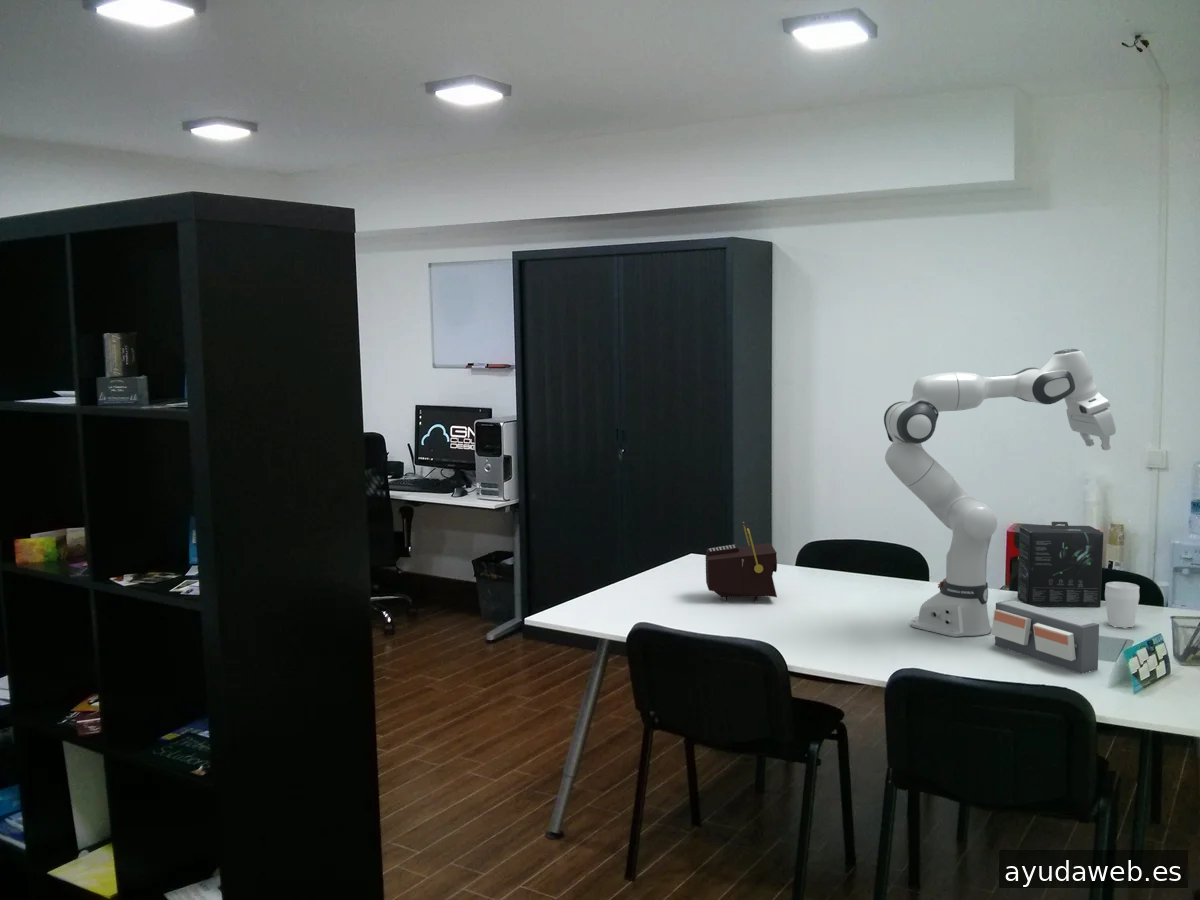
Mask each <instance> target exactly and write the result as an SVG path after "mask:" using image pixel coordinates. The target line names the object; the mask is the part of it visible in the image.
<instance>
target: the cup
mask: <svg viewBox="0 0 1200 900" xmlns="http://www.w3.org/2000/svg"><path fill="white" fill-rule="evenodd" d="M1104 588H1105V590H1104V600H1105V609H1106V617H1107V622H1108V625H1109V626H1110V625H1112V626H1116V627H1126V628H1125V629H1128V628H1127V627H1132V628H1134V627H1133V626H1135V622H1136V616H1137V612H1138V606H1139V602H1140V585H1138V584H1136V583H1131V582H1127V581H1126V582H1125V581H1109V582H1106V583H1105V586H1104ZM1112 626H1111V627H1112ZM1116 627H1115V628H1116Z"/></svg>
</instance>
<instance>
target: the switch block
mask: <svg viewBox="0 0 1200 900" xmlns="http://www.w3.org/2000/svg"><path fill="white" fill-rule="evenodd" d="M995 610H1002V611H1005V612H1009V613H1012V614H1015V615H1019V616H1022V617H1026V618H1029V619H1031V626H1030V631H1032V634H1030V633H1029V639H1028V645H1022V644H1019V643H1016V642H1013V641H1010V640H1006V639H1003V638H1000V637H997V636H994V645H995V646H996V647H1000V648H1002V649H1005V650H1008V649H1009V651H1011V650H1012V652H1014V651H1015V652H1014V653H1017V654H1020V653H1021V655H1023V656H1027V657H1030V658H1033V659H1036V660H1039V661H1043V662H1044V663H1045V662H1046V663H1047V664H1051V665H1054V666H1057V667H1059V668H1060V667H1061V668H1063V669H1066V670H1069V671H1072V672H1075V673H1078V674H1081V675H1083V674H1086V672H1087V673H1090V672H1089V671H1091V672H1093V671H1094V670H1095V671H1098V670H1099V639H1100V623H1095V622H1094V621H1090V620H1085V619H1083V618H1078V617H1075V616H1072V615H1067V614H1065V613H1064V614H1063V613H1061V612H1057V611H1053V610H1049V609H1046V608H1042V607H1040V606H1032V605H1028V604H1025V603H1023V602H1022V601H1016V600H1013V599H1010V600H1004V601H1000V602H995ZM1036 623H1039V624H1043V625H1046V626H1050V627H1053V628H1056V629H1060V630H1063V631H1067V632H1070V633H1073V636H1074V644H1076V645H1077V648H1075V656H1076V659H1075V660H1073V661H1070V660H1066V659H1063V658H1060V657H1057V656H1054V655H1051V654H1048V653H1045V652H1042V651H1039V650H1036V646H1035V637H1034V628H1033V625H1034V624H1036ZM1095 671H1094V672H1095ZM1082 673H1083V674H1082Z"/></svg>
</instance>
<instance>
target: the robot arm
mask: <svg viewBox="0 0 1200 900" xmlns="http://www.w3.org/2000/svg"><path fill="white" fill-rule="evenodd" d="M1048 360H1049V361H1047V362H1046V364H1044V366H1042V368H1037V367H1026V368H1023V369H1021V370H1020V371H1018V372H1015V373H1013V374H1008V375H993V376H982V375H980V374H978V373H974V372H965V371H953V372H952V371H949V372H941V373H933V374H930V375H928V374H927V375H925V376H922V377H920V378H918V379H916V381H915V382H914V385H913V388H912V397H911V399H910V400H909V402H908V401H902V400H901V401H898V402H895V403H893V404H891V405H890V406H889V407H888V408H887V409H886V410H885V413H884V416H883V422H884V423H883V424H884V426H885V427H884V428H885V431H886V434H887V437H888V440H889V442H891V444H890V446H889V447H888V448H887V450H886V451H885V455H884V459H885V460H884V461H885V463H886V465H887V467H888V468H889V469H890V471H891V472H892V473H893V474H894V476H895V477H896V478H897V479H898V480H899V482H901V483H902V484H903V485H904V486H905V487H906V488H907V489H908V490H910V491H911V492H912V494H914V495H915V496H916V497H917V498H918V499H919V500H920V501H921V502H922V503H923V504H924V505H925V506H926V507H927V508H928V509H929V511H931V513H932V514H933V515H934V516H935V517H936V518H937V519H938V520H939V521H940V523H942V524H943V525H944V526H945V527H947V528H948V529H949V530H951V531H952V537H951V538H952V539H951V542H950V543H951V544H950V546H949V550H948V551H947V553H946V555H945V557H946V558H945V559H946V560H945V561H946V562H945V564H946V566H945V567H946V568H945V570H946V571H945V573H946V574H945V576H946V577H945V578H943V580H942V581H940V582H939V583H938V584H937V589H939V592H937V593H936V594H934V595H933V596H931V597H930V598H928V599H927V600H925V601H924V602H923V603H922V604H921V605H920V608H919V612H918V615H917V616H916V617H914V618H912V620H911V621H910V627H913V628H916V629H918V630H919V629H921V630H924V631H928V632H933V633H938V634H941V635H946V636H949V637H953V638H957V637H965V636H967V637H968V636H969V637H972V636H973V637H974V636H983V635H987V634H991V631H992V626H991V624H990V618H989V613H988V603H987V602H988V599H989V589H988V588H989V586H988V582H987V560H988V553H989V549H990V545H991V541H992V537H993V535H994V534H995V532H996V530H997V528H998V518H997V516H996V514H995V513H994V511H993V510H992V508H991V507H990V506H989V505H987V503H984V502H981V501H980V500H977V499H976V498H974V497H972V496H970V495H969V494H968V492H966V491H965V490H964V489H963V487H962V486H960V484H959V483H958V482H957V481H956V480H955V478H954V476H953V475H951V474H950V473H949V472H948V471H947V470H946V468H944V467H943V466H942V465H941V464H940V463H939V462H938V461H937V460H935V459H934V458H933V457H932V456H931V455H930V454H929V453H928V452H927V451H926V449H924V446H922V443H925V442H927V441H928V440H930V439H931V437H932V436H933V435H934V432H935V431H936V427H937V421H938V419H939V413H940V412H957V411H966V410H972V409H975V408H978V407H980V405H982V403H983V401H984V400H986V399H995V398H997V399H998V398H1010V397H1011V398H1017V399H1019V400H1021V401H1024V402H1029V403H1030V402H1032V403H1035V404H1040V405H1052V404H1056V403H1058V402H1060V401H1062V400H1063V399H1064V401H1065V403H1066V407H1067V408H1066V416H1067V420H1068V424H1069V427H1070V429H1071V430H1072V431H1073V432H1076V433H1079V434H1080V437H1081V438H1082V440H1083V441H1084V443H1085V446H1086V447H1092V446H1095V442H1094V439H1093V438H1092V437H1091V436H1095V437H1099V439H1100V441H1101V444H1100V446H1101V449H1102V450H1103V451H1108V450H1109V451H1110V450H1111V445H1110V439H1111V436H1113V435H1116V430H1117V428H1116V425H1115V421H1114V417H1113V413H1112V412H1111V410H1110V409H1109V408H1110V407H1111V403H1110V401H1109V400H1108V399H1107V398H1106V397H1104V396H1103V394H1101V393H1100V392H1099V391H1098V386H1097V385H1096V384H1095V383H1094V379H1093V372H1092V369H1091V366H1090V364H1089V361H1088V359H1087V357H1086V355H1085V354H1084V352H1083V351H1082V350H1080V349H1076V348H1067V349H1060V350H1057V351H1055V352H1053V354H1052V355H1051V358H1050V359H1048Z"/></svg>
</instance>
